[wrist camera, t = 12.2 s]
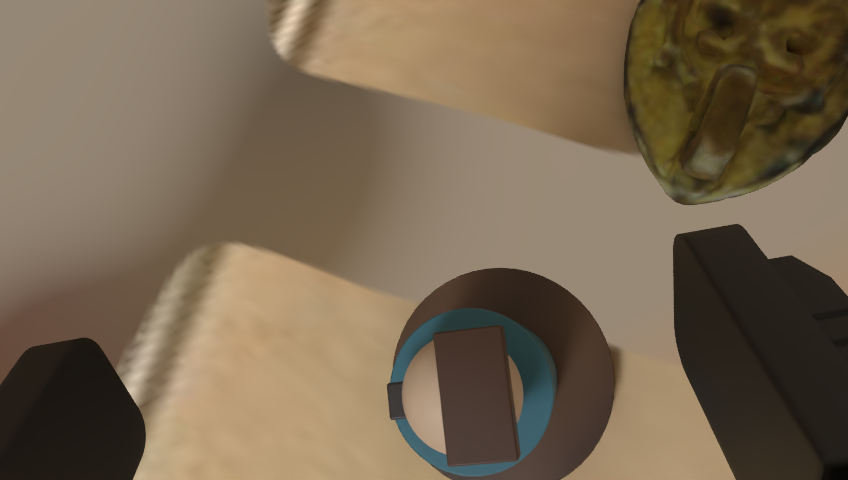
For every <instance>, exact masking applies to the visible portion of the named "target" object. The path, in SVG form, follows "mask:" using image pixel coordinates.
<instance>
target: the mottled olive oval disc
mask: <svg viewBox="0 0 848 480" xmlns="http://www.w3.org/2000/svg"><path fill="white" fill-rule="evenodd" d="M624 99H625V105H626V110H627V115H628V120H629V123H630V126H631V129H632V132H633V135H634V137H635V140H636V142H637V144H638V147H639V149H640V151H641V153H642V156H643V158H644V160H645V162H646V164H647V166H648V167H649V169H650V170H651V172H652V173H653V175H654V176H655V178H656V179H657V180H658V182H659V183H660V185H661V186H662V187H663V189H664V191H665V192H666V194H667V195H668V196H669V197H670V198H672V199H673V200H674V201H675V202H677V203H680V204H683V205H697V204H704V203H710V202H716V201H720V200H723V199H726V198H733V197H737V196H741V195H744V194H747V193H750V192H753V191H756V190H758V189H761V188H763V187H765V186H768V185H769V184H771V183H773V182H775V181H777V180H779V179H781V178H782V177H784V176H785V175H787V174H789V173H790V172H792V171H794V170H795V169H797V168H798V167H800V166H801V165H802V164H803V163H805V162H806V161H807V160H808V159H809V158H810V157H811V156H812V154H815V153H816V152H818V151H820V150H821V149H822V148H823V147H825V146H826V145H827V144H828V143H829V142H830V141H831V140H832V139H833V138H834V137H835V136H836V134H837V133H838V132H839V130H840V129H841V127H842V126H843V124H844V122H845V120H846V118H847V116H848V0H641V1H640V3H639V5H638V7H637V10H636V12H635V14H634V17H633V20H632V22H631V25H630V30H629V35H628V40H627V46H626V53H625V62H624Z"/></svg>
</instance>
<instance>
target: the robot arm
mask: <svg viewBox="0 0 848 480" xmlns="http://www.w3.org/2000/svg"><path fill="white" fill-rule="evenodd" d="M673 273H674V274H673V275H674V329H675V337H676V343H677V348H678V352H679V355H680V359H681V362H682V365H683V368H684V371H685V373H686V375H687V377H688V379H689V381H690V384H691V386H692V388H693V390H694V392H695V394H696V396H697V398H698V400H699V403H700V405H701V407H702V409H703V411H704V413H705V415H706V417H707V420H708V422H709V424H710V426H711V428H712V430H713V432H714V434H715V436H716V439H717V441H718V443H719V445H720V447H721V449H722V451H723V453H724V455H725V458H726V460H727V462H728V464H729V466H730V468H731V470H732V472H733V474H734V477H735V479H736V480H848V296H847V295H846V294H845V293H844V292H843V291H842V289H841V288H840V287H839V286H838V285H837V284H836V283H835V281H834V280H833V279H832V278H831V277H829V276H828V275H826V274H824V273H822V272H820V271H819V270H817V269H815V268H813V267H811V266H810V265H808V264H806V263H804V262H802V261H801V260H799V259H797V258H795V257H793V256H785V257H779V258H773V259H767V257H766V256H765V255H764V253H763V252H762V251H761V250H760V248H759V247H758V246H757V244H756V243H755V242H754V240H753V239H752V238H751V236H750V235H749V234H748V233H747V231H746V230H745V229H744V228H743V227H742V226H741V225H739V224H734V225H728V226H722V227H716V228H711V229H705V230H699V231H694V232H688V233H682V234H678V235H676V237H675V239H674V245H673ZM145 441H146V432H145V424H144V420H143V417H142V414H141V412H140V410H139V408H138V407H137V405H136V403H135V402H134V400H133V399H132V397H131V395H130V394H129V392H128V391H127V389H126V387H125V386H124V384H123V383H122V381H121V379H120V378H119V376H118V375H117V373H116V371H115V370H114V368H113V367H112V365H111V363H110V362H109V360H108V359H107V357H106V355H105V354H104V352H103V351H102V349H101V348H100V346H99V345H98V344H97V343H96V342H95V341H93V340H92V339H89V338H80V339H74V340H68V341H62V342H56V343H51V344H45V345H40V346H34V347H31V348H29V349H28V350H26V351H25V352H24V353H23V354H22V355H21V357H20V358H19V360H18V361H17V363H16V364H15V365H14V367H13V368H12V369H11V371H10V372H9V374H8V375H7V377H6V378H5V379H4V381H3V382H2V383H1V385H0V480H133V477H134V475H135V473H136V470H137V468H138V465H139V463H140V461H141V458H142V456H143V453H144V448H145Z"/></svg>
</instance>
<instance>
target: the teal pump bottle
mask: <svg viewBox="0 0 848 480" xmlns="http://www.w3.org/2000/svg"><path fill="white" fill-rule="evenodd" d="M387 391H388V401H389V411H390V418H391V420H395V421H396V423H397V425H398V428H399V430H400V432H401V433H402V435H403V437H404V438H405V440H406V441H407V443H408V444H409V445H410V446H411V448H412V449H413V450H414V451H415V452H416V453H417V454H418V455H419V456H420V457H422V458H423V459H424V460H426V461H427V462H428V463H430V464H432V465H433V466H435V467H437V468H439V469H441V470H444V471H446V472H449V473H453V474H456V475H462V476H486V475H492V474H495V473H498V472H502V471H504V470H506V469H508V468H510V467H512V466H514V465H515V464H517V463H518V462H520V461H521V460H523V459H524V458H525V457H526V456H527V455H528V454H529V453H530V452H531V451H532V450H533V449H534V448H535V447H536V446H537V444H538V443H539V441H540V440H541V438H542V437H543V435H544V433H545V430H546V428H547V426H548V423H549V420H550V417H551V414H552V409H553V405H554V400H555V396H556V391H557V370H556V365H555V362H554V359H553V357H552V355H551V353H550V351H549V349H548V348H547V346H546V345H545V343H544V342H543V341H542V340H541V339H540V338H539V337H538V336H537V335H536V334H535V333H533V332H532V331H530V330H529V329H527V328H526V327H524V326H522V325H520V324H519V323H517V322H515V321H513V320H512V319H510V318H508V317H506V316H504V315H502V314H499V313H496V312H493V311H490V310H485V309H478V308H461V309H455V310H450V311H447V312H444V313H441V314H439V315H437V316H435V317H433V318H431V319H429V320H428V321H426V322H425V323H423V324H422V325H421V326H419V327H418V328H417V329H416V330H415V331H414V332H413V333H412V334H411V335H410V336H409V338H408V339H407V340H406V342H405V343H404V345H403V346H402V348H401V350H400V352H399V354H398V356H397V358H396V361H395V363H394V366H393V371H392V375H391V383H389V384H387Z"/></svg>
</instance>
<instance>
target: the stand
mask: <svg viewBox="0 0 848 480" xmlns="http://www.w3.org/2000/svg"><path fill="white" fill-rule="evenodd" d="M461 308H478V309H485V310H490V311H493V312H496V313H499V314H502V315H504V316H506V317H508V318H510V319H512V320H513V321H515V322H517V323H519V324H520V325H522V326H524V327H526V328H527V329H529V330H530V331H532V332H533V333H535V334H536V335H537V336H538V337H539V338H540V339H541V340H542V341H543V342H544V343H545V345H546V346H547V348H548V349H549V351H550V353H551V355H552V357H553V359H554V362H555V365H556V370H557V391H556V396H555V400H554V405H553V409H552V414H551V417H550V420H549V423H548V426H547V428H546V430H545V433H544V435H543V437H542V438H541V440H540V441H539V443H538V444H537V446H536V447H535V448H534V449H533V450H532V451H531V452H530V453H529V454H528V455H527V456H526V457H525V458H524V459H523V460H521V461H520V462H518V463H517V464H515V465H514V466H512V467H510V468H508V469H506V470H504V471H502V472H498V473H495V474H492V475H486V476H462V475H456V474H453V473H449V472H446V471H444V470H441V469H439V468H437V467H435V466H433V465H432V464H431V465H432V466H433V467H434V468H435V469H437V470H438V471H439V472H441V473H442V474H443V475H445V476H447V477H448V478H450V479H452V480H561V479H562V478H564V477H565V476H567V475H569V474H570V473H571V472H572V471H574V470H575V469H576V468H577V467H578V466H580V465H581V464H582V463H583V462H584V460H585V459H586V458H587V457H588V456H589V455H590V454H591V452H592V451H593V450H594V448H595V447H596V445H597V444H598V442H599V441H600V439H601V437H602V435H603V433H604V431H605V429H606V426H607V423H608V420H609V417H610V414H611V410H612V405H613V400H614V385H615V381H614V368H613V363H612V358H611V354H610V350H609V348H608V345H607V342H606V339H605V337H604V335H603V333H602V331H601V329H600V327H599V325H598V323H597V322H596V321H595V319H594V318H593V316H592V315H591V313H590V312H589V311H588V310H587V308H585V306H584V305H583V304H582V303H581V302H580V301H579V300H578V299H577V298H576V297H575V296H574V295H572V294H571V293H570V292H569V291H568V290H566V289H565V288H563V287H562V286H560V285H558V284H557V283H555V282H553V281H551V280H549V279H547V278H545V277H543V276H540V275H537V274H534V273H531V272H528V271H523V270H517V269H508V268H492V269H483V270H478V271H473V272H470V273H467V274H464V275H461V276H459V277H457V278H455V279H452V280H450V281H449V282H447V283H445V284H444V285H442V286H440V287H439V288H437V289H436V290H435V291H433V292H432V293H431V294H430V295H429V296H428V297H427V298H425V300H424V301H423V302H422V303H421V304H420V305H419V306H418V307H417V308H416V310H415V311H414V313H413V314H412V315H411V317H410V318H409V320H408V322H407V323H406V325H405V327H404V329H403V331H402V333H401V336H400V339H399V342H398V344H397V348H396V352H395V356H394V362H393V366H394V363H395V361H396V358H397V356H398V354H399V352H400V350H401V348H402V346H403V345H404V343H405V342H406V340H407V339H408V338H409V336H410V335H411V334H412V333H413V332H414V331H415V330H416V329H417V328H418V327H419V326H421V325H422V324H423V323H425V322H426V321H428V320H429V319H431V318H433V317H435V316H437V315H439V314H441V313H444V312H447V311H450V310H455V309H461Z"/></svg>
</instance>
